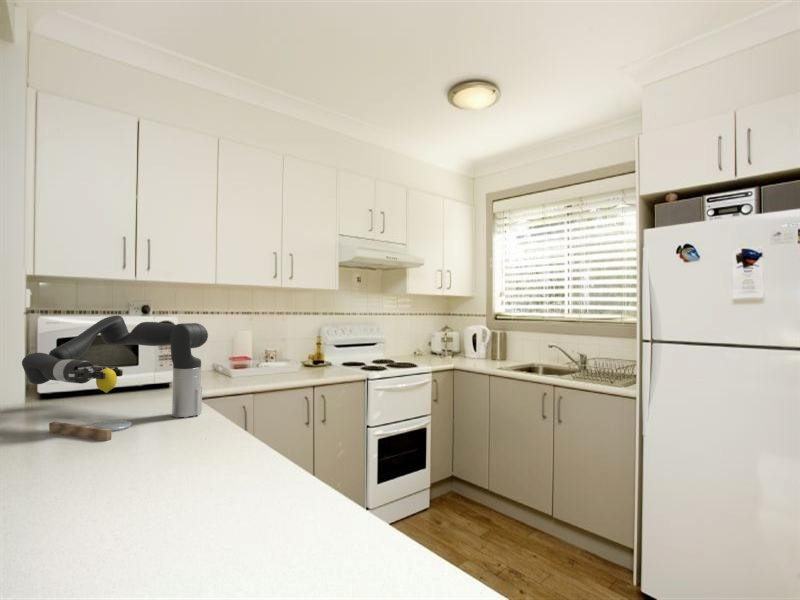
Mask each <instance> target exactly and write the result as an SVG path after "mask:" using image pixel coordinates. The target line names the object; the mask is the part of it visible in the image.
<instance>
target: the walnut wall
mask: <svg viewBox="0 0 800 600" xmlns="http://www.w3.org/2000/svg"><path fill="white" fill-rule="evenodd" d="M48 427H49V429H48V433H49V432H50V433H51V434H55V433H57V434H56V435H62V434H64V436H69V435H71V436H70V437H76V438H85V439H90V440H91V439H92V440H97V441H104V442H105V441H106V442H107V441H111V440H112V433H113V432H112V429H106V428H98V427H91V426H90V425H89V426H88V425H82V424H74V423H66V422H60V421H51V422H49V425H48ZM50 433H49V434H50Z"/></svg>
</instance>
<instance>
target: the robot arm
mask: <svg viewBox="0 0 800 600" xmlns="http://www.w3.org/2000/svg"><path fill="white" fill-rule="evenodd" d="M99 334H100V337H101V339H102V340H103V342H104V343H105V344H106V345H108V346H124V345H126V346H127V345H132V346H133V345H136V346H137V345H138V346H147V347H148V346H149V347H161V346H170V359H171V361H172V396H171V397H172V399H171V400H172V401H171V402H172V403H171V404H172V405H171V417H173V416H174V417H173V418H178V417H184V418H189V417H188V416H193V415H198V414H199V413H200V412H201V411H202V410H203V407H202V406H203V405H202V404H203V387H202V386H201V385H202V384H201V383H202V361H201V359H200V358H198V357H195V356H193V354H192V349H198V348H200V347H202V346H203V345H204V344H205V343H206V342H207V341H208V338H209V333H208V330H207V329H206V327H205V326H204V325H202V324H200V323H197V322H192V323H191V322H189V323H187V322H186V323H185V322H183V323H177V324H174V323H167V322H157V321H143V322H140V323H139V324H137V325H136V326H135V327H133V328H132V330H131V331H130V332H129V329H128V327H127V324H126V322H125V320H124V318H123V316H121V315H117V314H116V315H110V316H107V317H104V318H102V319H101V320H99V321H97V322H96V323H95V324H94V323H93V324H92V326H90V327H88V328H87V329H85V330H84V331H83V332H81V333H80V334H78V335H77V336H75V337H73V338H72V339H70V340H68V341H66V342H64V343H62V344H61V345H59V346H56V347H55V348H53V349H51V350H50V351H49V352H48V353H46V352H32V353H29V354H27V355H26V356H25V357H23V359H22V360H21V366H22V369H23V371H24V373H25V375H26V377H27V379H28V381H29V383H31V384H32V385H42V384H45V383H48V382H49V381H58V382H63V383H71V384H80V385H81V384H82V385H83V384H85V383H88V382H90V381H91V380H94V379H105V372H100V371H101V370H103V369H105V368H109V369H112V370H113V371H114V372H115V373H116V376H117V377H122V376H123V373H124V371H123V369H121V368H119V367H118V366H113V365H107V366H104V365H103V366H99V365H94V364H93V362H91V361H89V360H88V359H87V360H86V359H85V360H84V359H80V358H81V357H83V356H84V354H85V353H87V351H88V349H89V348H90V347H91V345H92V344H93V341H94V340H95V339H96V337H97V336H99ZM202 412H203V411H202ZM202 412H201V413H202ZM201 413H200V414H201ZM200 414H199V415H200ZM199 415H198V416H199ZM193 417H194V416H193Z"/></svg>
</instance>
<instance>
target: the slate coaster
mask: <svg viewBox="0 0 800 600" xmlns="http://www.w3.org/2000/svg"><path fill="white" fill-rule="evenodd" d="M89 426H91V427H98V428H106V429H112V433H113V432H114V433H115V432H120V431H124V430H126V428H127V429H129V427H130V426H131V427H132V422H131V421H129V420H110V421H108V420H107V421H103V422H97V423H94V424H91V425H89ZM131 427H130V428H131ZM123 429H124V430H123Z"/></svg>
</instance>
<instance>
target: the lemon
mask: <svg viewBox="0 0 800 600" xmlns="http://www.w3.org/2000/svg"><path fill="white" fill-rule="evenodd" d="M100 372H105V379H96V381H95V383H96V386H97V388H98V389H99V390H100V391H103V392H104V393H106V394H107V393H109V392H110V391H112V390H113V389H114V388H115V386H116V384H117V382H118V376H116V373H115V372H114V371H113V370H112V369H109V368H105V369H103V370H101V371H100Z"/></svg>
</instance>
